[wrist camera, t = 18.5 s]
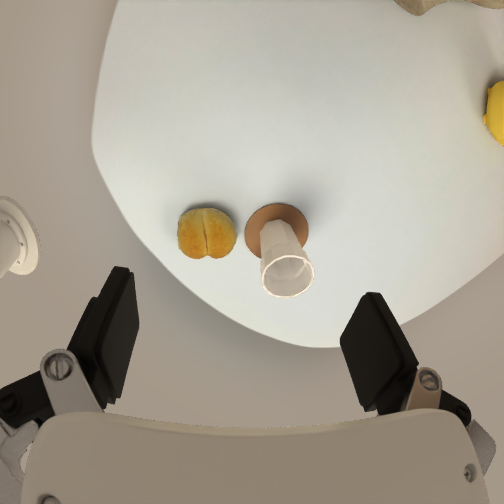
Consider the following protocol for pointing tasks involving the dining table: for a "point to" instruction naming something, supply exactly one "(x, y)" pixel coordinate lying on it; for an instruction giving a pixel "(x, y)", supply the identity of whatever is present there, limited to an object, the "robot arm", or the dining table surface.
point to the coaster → (270, 214)
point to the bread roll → (206, 233)
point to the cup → (283, 261)
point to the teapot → (496, 111)
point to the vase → (419, 3)
